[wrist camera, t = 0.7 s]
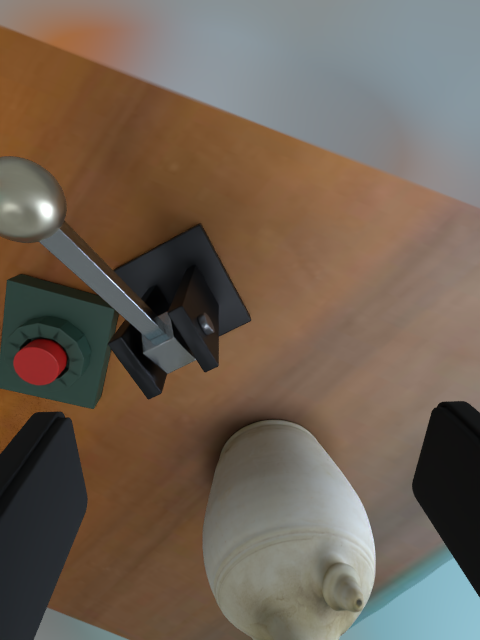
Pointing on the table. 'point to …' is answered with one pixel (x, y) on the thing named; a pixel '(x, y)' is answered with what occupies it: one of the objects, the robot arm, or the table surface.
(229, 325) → the bracket
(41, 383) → the button
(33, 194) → the lever
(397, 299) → the table surface
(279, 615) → the jug
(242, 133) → the table surface
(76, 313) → the button box
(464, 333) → the table surface
